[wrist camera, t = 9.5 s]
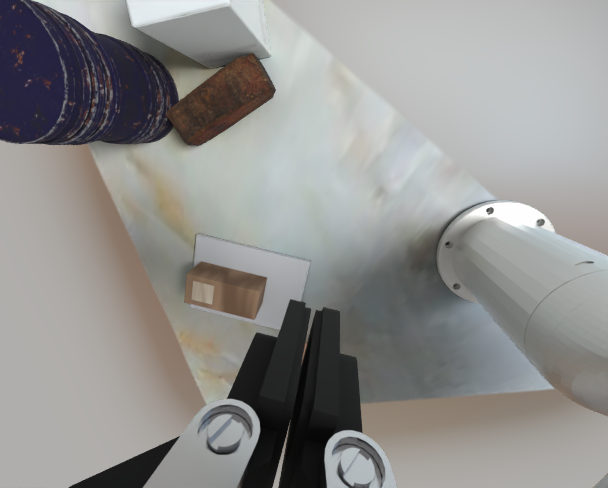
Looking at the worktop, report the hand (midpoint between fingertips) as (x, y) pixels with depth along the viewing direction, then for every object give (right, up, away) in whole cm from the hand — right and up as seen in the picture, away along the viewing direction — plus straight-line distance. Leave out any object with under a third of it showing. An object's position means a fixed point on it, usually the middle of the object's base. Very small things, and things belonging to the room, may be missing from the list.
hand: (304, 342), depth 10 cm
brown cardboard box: (-5, -4, +28) cm, 29 cm away
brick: (-8, +19, +24) cm, 31 cm away
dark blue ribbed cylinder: (-19, +20, +24) cm, 37 cm away
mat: (-8, -2, +30) cm, 32 cm away
